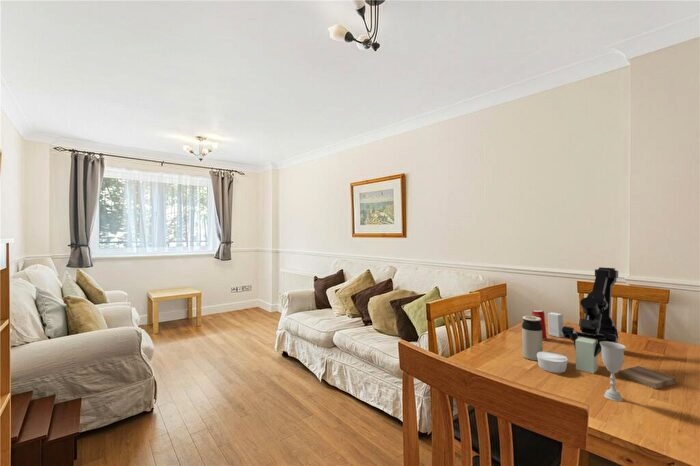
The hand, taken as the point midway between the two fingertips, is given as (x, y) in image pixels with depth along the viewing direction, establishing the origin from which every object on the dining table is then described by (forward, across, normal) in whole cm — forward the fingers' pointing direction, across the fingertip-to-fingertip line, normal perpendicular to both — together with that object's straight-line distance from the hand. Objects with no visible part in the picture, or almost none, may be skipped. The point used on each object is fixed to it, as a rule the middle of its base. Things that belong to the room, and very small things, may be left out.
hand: (585, 354), depth 136 cm
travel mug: (+5, -20, +4) cm, 21 cm away
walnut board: (0, +18, +9) cm, 20 cm away
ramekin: (+10, -10, 0) cm, 14 cm away
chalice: (+19, +12, -9) cm, 24 cm away
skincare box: (-24, -23, +34) cm, 48 cm away
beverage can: (-17, -27, +26) cm, 41 cm away
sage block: (+4, 0, +6) cm, 7 cm away
